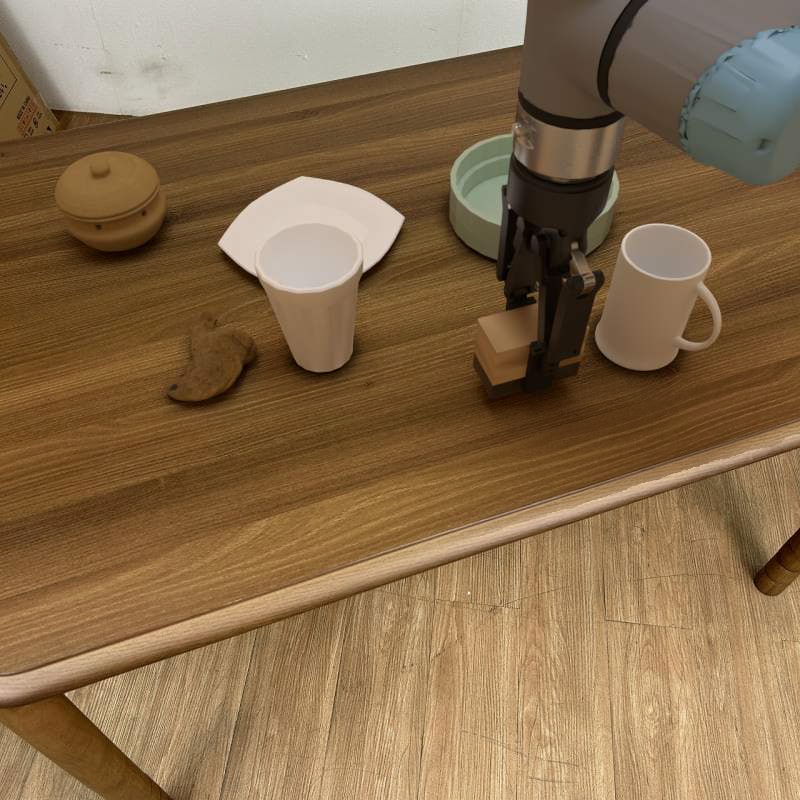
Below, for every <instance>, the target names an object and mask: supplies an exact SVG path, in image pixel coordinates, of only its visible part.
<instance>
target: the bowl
mask: <svg viewBox="0 0 800 800" xmlns="http://www.w3.org/2000/svg"><path fill="white" fill-rule="evenodd" d="M512 147H513V135H512V134H511V133H505V134H499V135H495V136H491V137H488V138H486V139H483V140H480V141H478V142H476V143H475V144H473V145H471V146H470V147H468V148H466V149H465V150H463V151H462V153H461V154H460V155H459V156H458V157H457V158H456V159H455V161H454V163H453V165H452V167H451V170H450V172H449V192H448V193H449V194H448V217H449V218H448V219H449V221H450V224H451V226H452V228H453V230H454V233H455V234H456V235H457V236H458V237H459V238H460V239H461V240H462V241H463V242H464V243H465V245H467V246H468V247H470V248H471V249H473V250H474V251H476V252H478V253H479V254H481V255H483V256H484V257H487V258H490V259H493V260H496V261H497V258H498V249H499V239H500V229H501V220H502V210H503V209H502V192H501V188H502V185H505V184H507V182H508V173H509V164H510V157H511V154H512V152H513V148H512ZM619 191H620V181H619V178H618V175H617V172H616V170H615V169H614V174H613V178H612V182H611V187H610V191H609V195H608V199H607V203H606V206H605V208H604V210H603V212H602V213H601V214H600V215H599V216H598V217H597V218H596V219H595V221H594V222H593V223H592V224H591V225H590V226H589V228H588V230H587V242H588V248H587V252H586V254H585V255H584V256H587V255H589V254H590V253H592V252H593V251H594V250H595V249H597V248H598V247H599V246H600V245H602V243H603V242H604V241H605V238H607V236H608V234H609V232H610V229H611V225H612V221H613V218H614V214H615V210H616V205H617V200H618V197H619Z"/></svg>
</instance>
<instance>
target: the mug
mask: <svg viewBox="0 0 800 800" xmlns="http://www.w3.org/2000/svg"><path fill="white" fill-rule="evenodd" d="M711 263H712V252H711V250H710V247H709V246H708V245H707V243H706V242H705V241H704V240H703V239H702V237H700V236H699V235H697V234H696V233H694V232H693V231H691V230H688V229H686V228H684V227H682V226H678V225H674V224H668V223H647V224H642V225H639V226H637V227H635V228H632V229H631V230H629V231H628V232H627V233H626V234H625V235H624V236H623V239H622V241H621V243H620V248H619V252H618V255H617V259H616V263H615V267H614V270H613V273H612V277H611V281H610V284H609V288H608V292H607V296H606V299H605V302H604V307H603V310H602V314H601V318H600V320H599V322H598V323H597V325H596V327H595V331H594V339H595V344H596V345H597V347H598V349H599V350H600V352H601V353H602V354H603V355H604V356H605V358H607V359H608V360H610V361H611V362H612V363H614V364H616V365H618V366H620V367H622V368H624V369H625V368H626V369H629V370H633V371H640V372H641V371H642V372H643V371H645V372H646V371H655V370H659V369H662V368H663V367H666V366H667V365H669V364H671V363H672V362H673V361H674V360H675V358H676V357H677V355H678V353H679V350H684V351H688V352H698V351H701V350H705V349H706V348H709V347H710V346H711V345H713V344H714V342H715V341H716V340H717V339H718V337H719V335H720V332H721V329H722V321H723V320H722V313H721V309H720V307H719V303H718V302H717V300H716V298H715V296H714V295H713V293H712V292H711V291H710V290H709V288H708V287H707V286H706V285H705V284H704V281H705V278H706V277H707V274H708V271H709V269H710V266H711ZM698 297H699V298H701V299H702V300H703V301H704V302H705V303H704V304H706V306H707V307H708V309H709V311H710V313H711V316H712V320H713V330H712V333H711V335H710V337H709V338H708V339H707V340H705V341H703V342H693V341H689V340H687V339H685V338H683V337H682V336H683V334H684V331H685V329H686V326H687V324H688V322H689V319H690V317H691V316H690V315H691V314H692V311H693V309H694V307H695V304H696V301H697V299H698Z"/></svg>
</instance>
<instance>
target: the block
mask: <svg viewBox="0 0 800 800" xmlns="http://www.w3.org/2000/svg"><path fill="white" fill-rule="evenodd" d="M537 327H538V302H537V303H535V304H531V305H527V306H524V307H520V308H516V309H512V310H508V311H500V312H498V313H494V314H489V315H486V316H482V317H479V318H477V319H476V327H475V336H474V337H475V338H474V349H473V360H472V367H473V369H474V371H475V372H476V374H477V376H478V378H479V379H480V383H481V384H482V386H483V387H484V389H485V391H486V393H487V395H488V397H489V398H490V400H494V399H498V398H501V397H505V396H509V395H512V394H515V393H519V392H522V391H523V385H524V380H525V374H526V368H527V363H528V357H529V351H530V349H529V345H531V342H533V341H537ZM589 330H590V327H589V325H588V326H587V329H586V333H585V337H584V341H583V344H582V348H581V352H580V355H579V356H576V357H573V358H569V359H565V360H562V361H560V363H559V368H558V372H557V373H555V377H554V382H557V381H561V380H564V379H568V378H572V377H574V376H578V373H579V370H580V366H581V361H582V358H583V354H584V350H585V345H586V342H587V338H588V335H589ZM523 392H524V391H523Z"/></svg>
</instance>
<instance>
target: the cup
mask: <svg viewBox="0 0 800 800" xmlns="http://www.w3.org/2000/svg"><path fill="white" fill-rule="evenodd" d="M363 261H364V257H363V245H362V244H361V242H360V241H359V240H358V238H357V237H356V236H355V234H354V233H352V232H351V231H349V230H347V229H345V228H343V227H341V226H340V225H338V224H333V223H328V222H323V221H307V222H297V223H294V224H291V225H288V226H285V227H282V228H279V229H278V230H276V231H275V232H274V233H272V234H271V235H269V236H268V237H266V238H265V239H264V240H263V242H262V243H261V245H260V246H259V248H258V249H257V250H256V252H255V263H254V267H255V270H256V273H257V275H258V277H257V279H258V281H259V283H260V285H261V286H262V288H263V289H264V291H265V293H266V295H267V298H268V300H269V303H270V305H271V308H272V310H273V313H274V314H275V317H276V319H277V321H278V324H279V327H280V329H281V332H282V333H283V336H284V339H285V341H286V343H287V345H288V347H289V350H290V352H291V355H292V357H293V359H294V361H295V362H296V364H297V365H298V366H300V367H302V368H303V369H304V370H306V371H310V372H313V373H326V372H332V371H334V370H337V369H339V368H341V367H343V366H344V365H345V364H346V363H347V362H348V361H350V358H351V357H352V355H353V352H354V336H355V326H356V325H355V324H356V315H357V303H358V293H359V282H360V280H361V277H362V276H363V274H364V273H363Z"/></svg>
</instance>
